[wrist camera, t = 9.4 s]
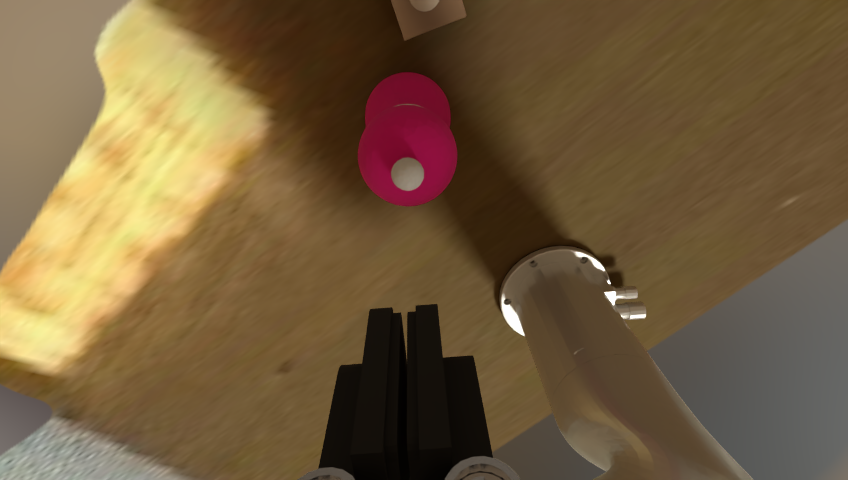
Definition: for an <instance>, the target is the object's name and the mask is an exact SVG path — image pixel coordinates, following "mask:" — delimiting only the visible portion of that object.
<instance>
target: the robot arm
mask: <svg viewBox="0 0 848 480" xmlns="http://www.w3.org/2000/svg"><path fill="white" fill-rule="evenodd" d="M531 261H532V262H531ZM637 296H638V292H637V289H636V287H635V286H626V287H621V288H615V287H614V286H611V285H610V279H609V275H608V273H607V271H606V269H605V268H604V266H603V265H602V264H601V262H600V261H599V260H598V259H597V258H596V257H594V256H593V255H592V254H591V253H589V252H587V251H585V250H583V249H579V248H576V247H571V246H553V247H548V248H544V249H540V250H538V251H535V252H533V253H531V254H529V255H527V256H526V257H524V258H523V259H521V260H520V261H519V262H518V263H516V264H515V265H514V266H513V267H512V268H511V270H510V271H509V272H508V273H507V275H506V277H505V279H504V280H503V282H502V285H501V289H500V295H499V302H500V308H501V311H502V314H503V317H504V318H505V320H506V322H507V324H508V325H509V326H510V327H511V328H512V329H513V330H515V331H516V332H517V333H519V334H521V335H523V336H525V338H526V340H527V343H528V346H529V349H530V351H531V354H532V357H533V359H534V362H535V365H536V368H537V370H538V373H539V376H540V378H541V381H542V384H543V387H544V389H545V392H546V395H547V398H548V400H549V403H550V406H551V408H552V411H553V414H554V417H555V419H556V422H557V425H558V427H559V429H560V431H561V433H562V434H563V436H564V437H565V439H566V440H567V442H568V443H569V444H570V445H571V446H572V447H573V449H574V450H575V451H577V452H578V453H579V454H580V455H581V456H583V457H584V458H585V459H587V460H588V461H590V462H591V463H593V464H595V465H596V466H598V467H599V468H601V469H603V470H605V471H607V472H605V473H604V474H602V475H600V476H598V477H597V478H595V479H593V480H753V479H752V478H751V477H750V476H749V475H748V474H747V473H746V472H745V470H743V468H742V467H741V466H740V465H739V464H738V463H737V462H736V461H735V460H734V459H733V458H732V457H731V456H730V455H729V454H728V453H727V452H726V451H725V450H724V449H723V447H722V446H721V445H720V444H719V443H718V442H717V441H716V440H715V439H714V438H713V437H712V436H711V435H710V433H709V432H708V431H707V430H706V429H705V428H704V427H703V425H702V424H701V423H700V422H699V421H698V419H697V418H696V417H695V416H694V414H693V413H692V412H691V410H690V409H689V408H688V407H687V405H686V404H685V403H684V401H683V400H682V399H681V398H680V396H679V395H678V394H677V393H676V391H675V390H674V388H673V387H672V386H671V384H670V383H669V382H668V380H667V379H666V377H665V376H664V375H663V373H662V372H661V370H660V369H659V368H658V367H657V365H656V364H655V362H654V361H653V360H652V358H651V357H650V355H649V354H648V353H647V351H646V350H645V348H644V347H643V346H642V344H641V343H640V341H639V340H638V339H637V337H636V336H635V334H634V333H633V332H632V330H631V329H630V327H629V326H628V325H627V323H626V322H625V320H624V319H627V320H632V319H644V318H645V316H646V308H645V305H644V303H643V302H641V301H640V302H627V303H624V304H615V303H614V302H615V301H616V299H634V298H637ZM298 480H520V478H519V476H518V475H517V473H516V472H515V471H514V470H513V469H511V468H510V467H509V466H508V465H507V464H505V463H503V462H501V461H500V460H498V459H495V458H493V456H492V450H491V445H490V440H489V434H488V429H487V424H486V419H485V414H484V408H483V403H482V398H481V393H480V387H479V382H478V377H477V372H476V367H475V362H474V357H473V356H460V357H446V358H443V356H442V346H441V336H440V326H439V316H438V306H437V304H432V305H418V306H416V312H408V315H407V359H406V350H405V341H404V333H403V324H402V316H401V313H393V309H392V308H378V309H370V311H369V318H368V325H367V333H366V340H365V347H364V355H363V362H362V364H352V365H341V366H340V368H339V371H338V375H337V380H336V385H335V389H334V394H333V399H332V404H331V409H330V414H329V419H328V424H327V429H326V434H325V439H324V444H323V449H322V454H321V459H320V464H319V469H317V470H314V471H311V472H308V473H307V474H305V475H304V476H302V477H301V478H299V479H298Z"/></svg>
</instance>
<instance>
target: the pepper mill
mask: <svg viewBox="0 0 848 480" xmlns="http://www.w3.org/2000/svg"><path fill="white" fill-rule="evenodd" d="M450 123H451V113H450V106H449V103H448V100H447V98H446V96H445V94H444V92H443V91H442V89H441V88H440V87H439V86H438V85H437V84H436V83H435V82H434V81H433V80H431V79H430V78H428V77H426V76H424V75H421V74H418V73H412V72H402V73H397V74H394V75H391V76H389V77H387V78H385V79H384V80H382V81H381V82H380V83H379V84H378V85H377V86H376V87H375V88H374V89H373V91H372V93H371V94H370V96H369V99H368V101H367V105H366V110H365V124H366V128H365V130H364V132H363V134H362V136H361V139H360V142H359V148H358V164H359V168H360V172H361V174H362V177H363V179H364V181H365V182H366V184H367V185H368V187H369V188H370V189H371V190H372V191H373V192H374V193H375V194H376V195H378V196H379V197H380V198H382V199H384V200H385V201H387V202H389V203H392V204H395V205H401V206H416V205H420V204H424V203H427V202H429V201H431V200H433V199H434V198H436V197H437V196H438V195H439V194H441V193H442V192H443V191H444V189H445V188H446V187H447V186H448V184H449V183H450V181H451V179H452V177H453V175H454V173H455V169H456V165H457V146H456V142H455V139H454V136H453V134H452V132H451V130H450Z"/></svg>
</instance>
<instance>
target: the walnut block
mask: <svg viewBox="0 0 848 480" xmlns="http://www.w3.org/2000/svg"><path fill="white" fill-rule="evenodd" d="M391 2H392V5H393V8H394V11H395V14H396V17H397V20H398V23H399V26H400V29H401V32H402V35H403V38H404V41H405V40H408V39H411V38H413V37H416V36H418V35H421V34H423V33H426V32H428V31H431V30H434V29H436V28H439V27H441V26H444V25H446V24H449V23H451V22H454V21H456V20H459V19H462V18H464V17H467V16H466V12H465V8H464V5H463V1H462V0H391Z"/></svg>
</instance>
